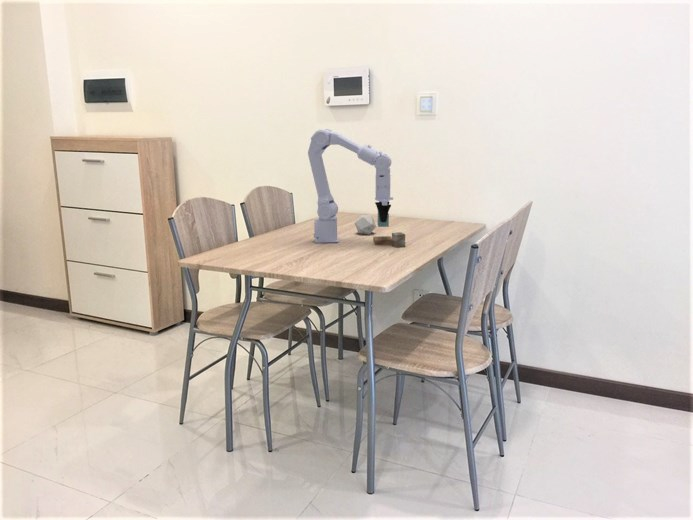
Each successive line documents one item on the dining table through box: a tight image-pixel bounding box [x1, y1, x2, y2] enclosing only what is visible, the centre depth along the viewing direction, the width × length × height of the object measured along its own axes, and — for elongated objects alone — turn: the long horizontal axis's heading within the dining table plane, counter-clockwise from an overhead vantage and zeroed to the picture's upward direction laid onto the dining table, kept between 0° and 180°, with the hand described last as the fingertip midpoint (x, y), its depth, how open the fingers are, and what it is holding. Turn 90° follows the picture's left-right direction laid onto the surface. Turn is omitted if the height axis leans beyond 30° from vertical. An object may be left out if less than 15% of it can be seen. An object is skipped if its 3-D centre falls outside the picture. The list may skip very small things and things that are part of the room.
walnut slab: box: [372, 235, 392, 246], centre depth 231 cm, size 7×7×2 cm
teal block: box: [376, 212, 390, 228], centre depth 229 cm, size 4×4×5 cm
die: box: [354, 214, 377, 236], centre depth 249 cm, size 8×9×10 cm
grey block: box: [391, 231, 406, 248], centre depth 225 cm, size 4×4×5 cm
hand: (382, 221), depth 229 cm, fingers closed on teal block, 4 cm apart
